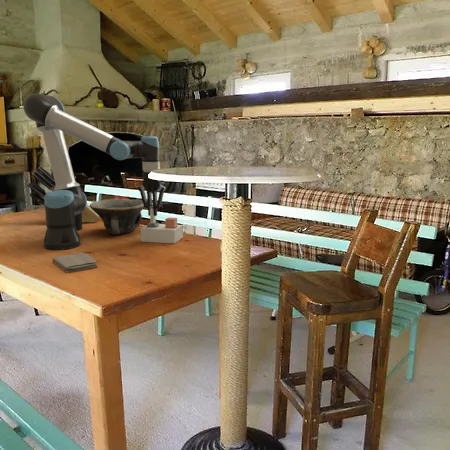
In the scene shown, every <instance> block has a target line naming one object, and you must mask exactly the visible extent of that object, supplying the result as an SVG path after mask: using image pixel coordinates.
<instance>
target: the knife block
mask: <svg viewBox="0 0 450 450" xmlns="http://www.w3.org/2000/svg"><path fill="white" fill-rule="evenodd" d="M31 176H33V178H35V180H37V181H38V182H39V183H40V184H42V185H43V186H44V187H45V188H47V189H48V190H49V191H50V192H51V191H54V188H55V187H56V184H55V180H54V176H53V174H51V173H50V172H48V171H47V170H46V169H45V168H43V167H42V166H39V167H38V168H37V169H36V170H35V171H34V172H32V174H31ZM26 185H27V187H28V188H29V189H31V190H32V192H31V193H29V197H30V198H32V199H34V200H35V201H36V202H38V203H39V204H41V205H43V206H44V207H45V204H44V201H45V195H46V194H47V193H48V192H46V191H45V189H43V188H42V187H41V186H40V185H39V184H37V183H36V182H32V181H30V182H28V183H27V184H26ZM99 218H100V216H99V215H98V214H96V213H95V212H94V211H93V210H92V209H91V207H90V204H88V203H87V205H86V207H85V209H84V210H83V211H82V223H90V224H91V223H95V222H97V221H98V220H99Z"/></svg>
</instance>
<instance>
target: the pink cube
mask: <svg viewBox="0 0 450 450" xmlns="http://www.w3.org/2000/svg"><path fill="white" fill-rule="evenodd" d="M164 222H165V223H164V224H165V228H174V229H175V228H177V225H178V217H167V218H165V221H164Z"/></svg>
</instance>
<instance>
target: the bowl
mask: <svg viewBox="0 0 450 450" xmlns="http://www.w3.org/2000/svg"><path fill="white" fill-rule="evenodd" d="M89 206H90V207H91V209H92V210H93V211H94V212H95V213H96V214H98V215H99V218H100V219H101V220H102V222H103V225H104V228H105V232H106V233H109V234H112V235H122V234H125V233H126V234H127V233H131V232H132V231H134V230H135V229H137V228H139V227H140V225H141V223H142V219H143V215H142V211H143V209H144V208H145V207H144V205H143V201H142V199H127V198H126V199H123V198H121V199H119V198H118V199H104V200H96V201H93V202H91V203H90V204H89Z"/></svg>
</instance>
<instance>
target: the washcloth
mask: <svg viewBox="0 0 450 450" xmlns="http://www.w3.org/2000/svg"><path fill="white" fill-rule="evenodd" d="M52 261H53V262H54V264H55V263H56V264H57V265H56V264H55V265H56V266H57V267H59V268H60V267H61V270H63V269H64V270H65V271H64V270H63V271H64V272H65V273H67V272H68V273H73V271H76V272H80V270H82V271H86V270H93V269H97V268H98V265H97V260H95V259H94V256H90V255H88V254H86V253H85V252H77V253H72V254H68V255H60V256H55V257H52ZM52 261H51V262H52ZM53 262H52V263H53Z"/></svg>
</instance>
